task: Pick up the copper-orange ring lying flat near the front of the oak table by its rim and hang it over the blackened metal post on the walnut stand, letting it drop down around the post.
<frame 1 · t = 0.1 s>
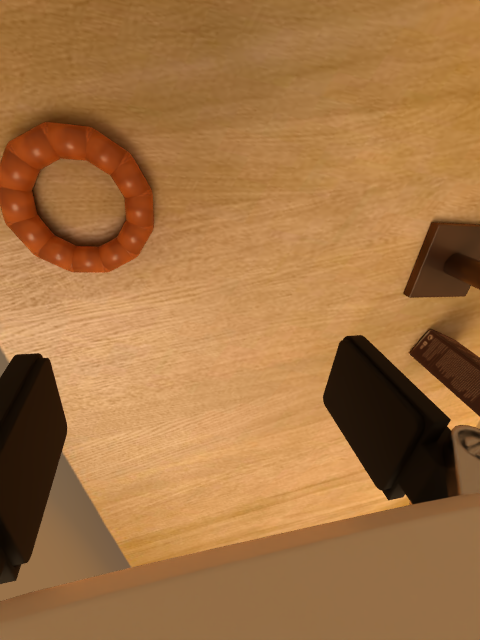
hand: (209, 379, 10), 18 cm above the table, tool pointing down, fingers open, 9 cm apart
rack: (446, 260, 34), on the table
ring: (81, 206, 22), point 1 cm above the table
box: (430, 346, 41), on the table
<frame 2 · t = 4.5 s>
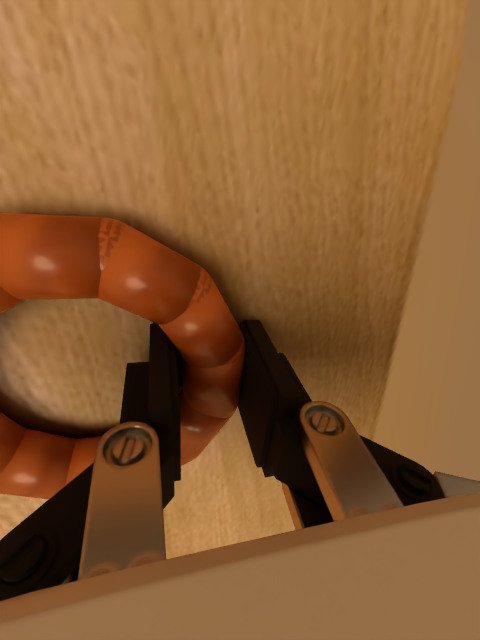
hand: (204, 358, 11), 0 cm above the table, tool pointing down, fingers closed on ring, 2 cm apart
ring: (85, 382, 9), point 1 cm above the table, touching gripper
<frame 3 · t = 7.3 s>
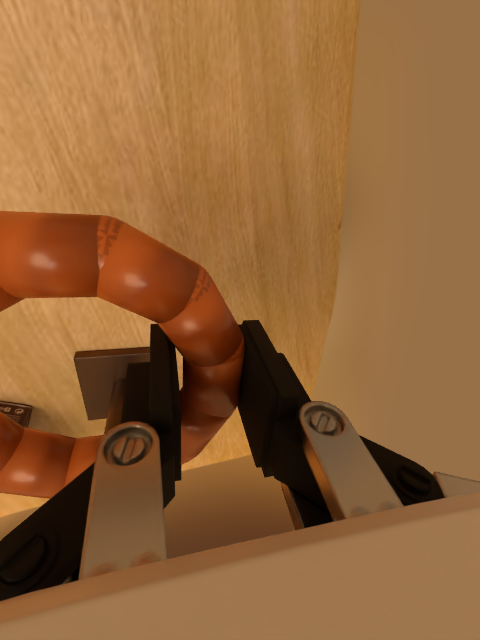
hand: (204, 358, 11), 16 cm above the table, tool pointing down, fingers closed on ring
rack: (126, 380, 31), on the table
ring: (84, 381, 9), point 17 cm above the table, touching gripper
box: (2, 421, 30), on the table
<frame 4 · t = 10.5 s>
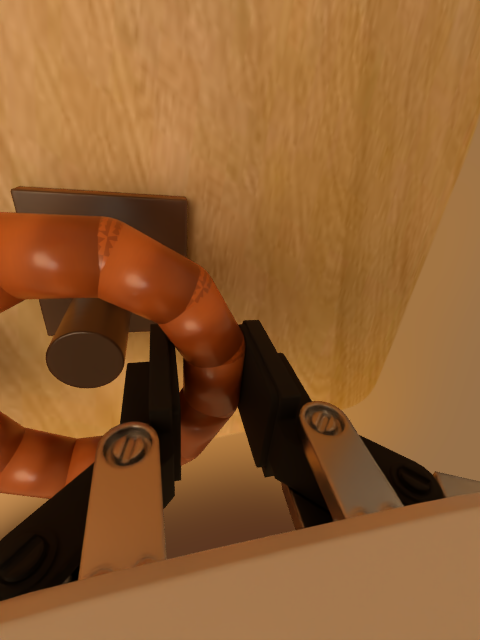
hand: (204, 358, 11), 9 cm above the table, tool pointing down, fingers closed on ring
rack: (115, 265, 18), on the table
ring: (84, 382, 9), point 10 cm above the table, touching gripper
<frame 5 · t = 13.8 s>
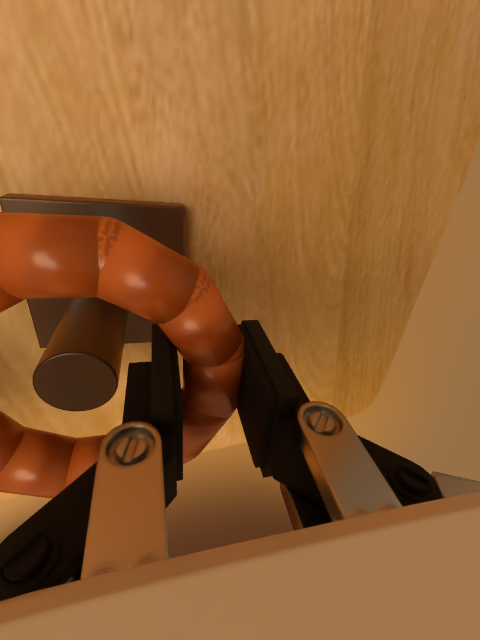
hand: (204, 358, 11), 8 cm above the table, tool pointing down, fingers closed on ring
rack: (110, 274, 17), on the table
ring: (84, 381, 10), point 9 cm above the table, touching gripper
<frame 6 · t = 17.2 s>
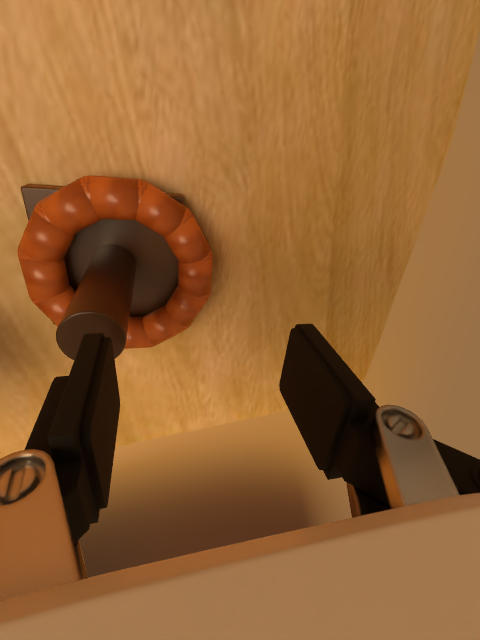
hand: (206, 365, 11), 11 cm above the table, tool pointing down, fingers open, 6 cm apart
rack: (116, 258, 19), on the table
ring: (124, 273, 17), point 2 cm above the table, touching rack
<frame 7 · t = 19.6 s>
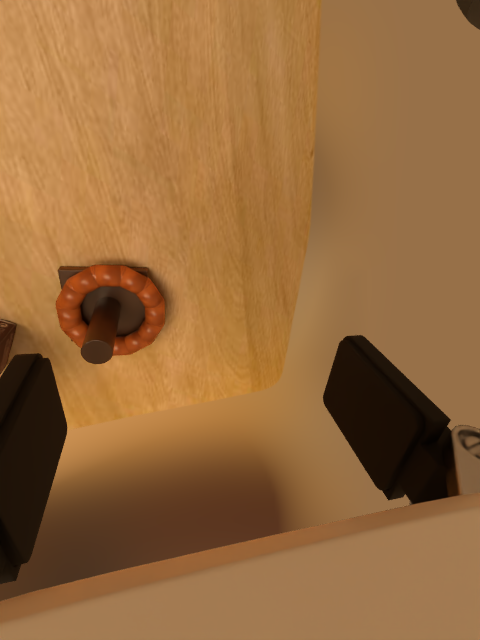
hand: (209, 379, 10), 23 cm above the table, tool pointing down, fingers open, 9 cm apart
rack: (109, 302, 32), on the table
ring: (113, 313, 31), point 2 cm above the table, touching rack
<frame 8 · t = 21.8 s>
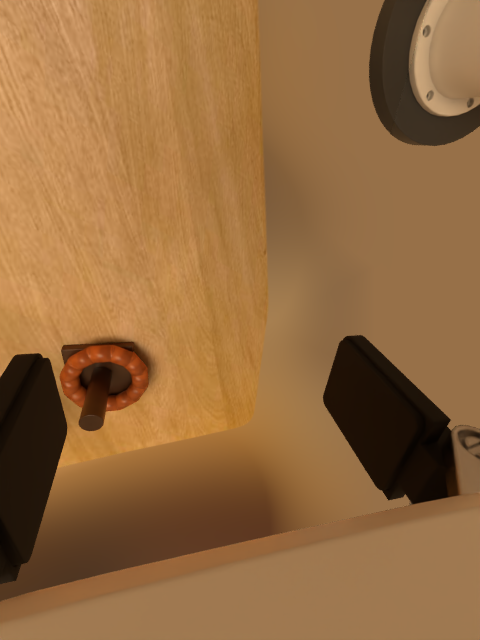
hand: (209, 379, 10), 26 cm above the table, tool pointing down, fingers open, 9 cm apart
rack: (103, 368, 40), on the table
ring: (106, 379, 38), point 2 cm above the table, touching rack
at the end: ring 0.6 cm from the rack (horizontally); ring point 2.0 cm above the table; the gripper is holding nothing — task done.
